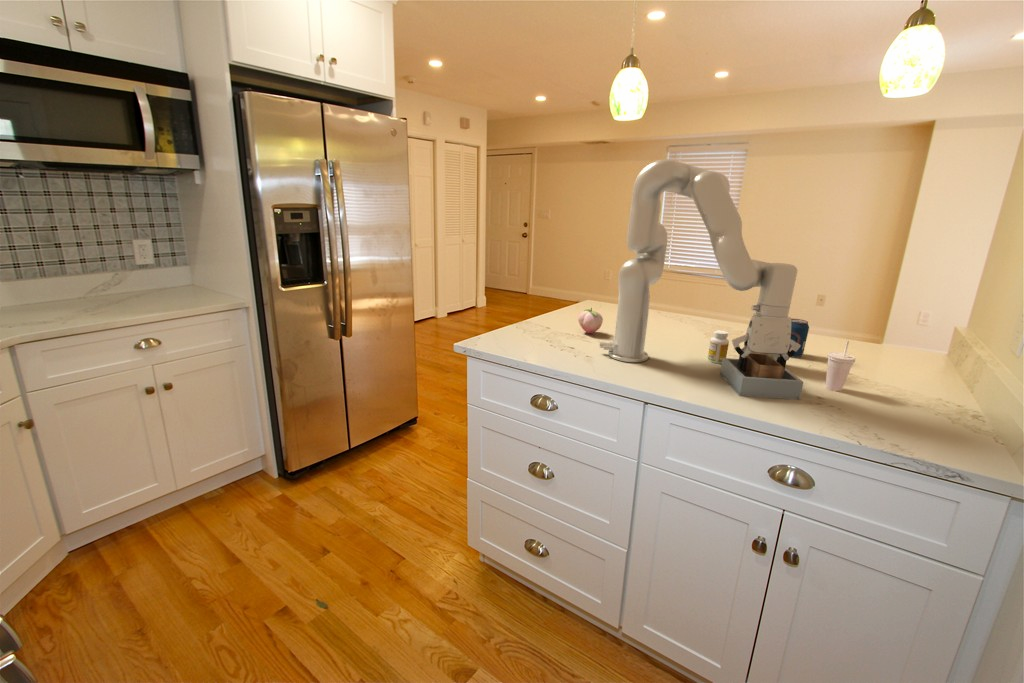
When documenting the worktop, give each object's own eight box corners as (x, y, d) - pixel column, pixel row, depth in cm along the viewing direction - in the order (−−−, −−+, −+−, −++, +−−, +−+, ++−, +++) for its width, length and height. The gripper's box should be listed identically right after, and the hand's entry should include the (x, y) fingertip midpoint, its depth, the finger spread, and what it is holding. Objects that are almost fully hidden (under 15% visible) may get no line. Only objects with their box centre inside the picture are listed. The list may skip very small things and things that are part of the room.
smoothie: (848, 395, 123) (861, 345, 119) (819, 389, 126) (831, 341, 122) (846, 387, 128) (859, 339, 124) (819, 382, 132) (830, 335, 128)
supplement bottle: (725, 360, 148) (730, 331, 146) (725, 365, 144) (730, 335, 141) (707, 357, 151) (712, 328, 148) (706, 362, 146) (711, 332, 143)
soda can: (775, 353, 156) (782, 319, 153) (784, 350, 160) (791, 317, 157) (797, 359, 151) (805, 324, 148) (805, 355, 155) (813, 321, 152)
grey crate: (739, 395, 121) (742, 377, 119) (720, 373, 136) (722, 357, 134) (799, 399, 119) (803, 381, 118) (773, 377, 134) (776, 361, 133)
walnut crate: (753, 390, 122) (758, 365, 120) (738, 375, 133) (742, 352, 131) (778, 391, 122) (784, 367, 120) (762, 376, 132) (766, 353, 130)
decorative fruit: (606, 335, 172) (608, 309, 169) (589, 337, 168) (591, 311, 165) (590, 329, 180) (592, 304, 177) (573, 331, 176) (575, 306, 173)
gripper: (743, 312, 119) (732, 373, 124) (814, 315, 117) (799, 378, 122) (733, 305, 126) (723, 364, 131) (800, 309, 124) (786, 368, 129)
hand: (760, 371), depth 126 cm, fingers open, 9 cm apart
